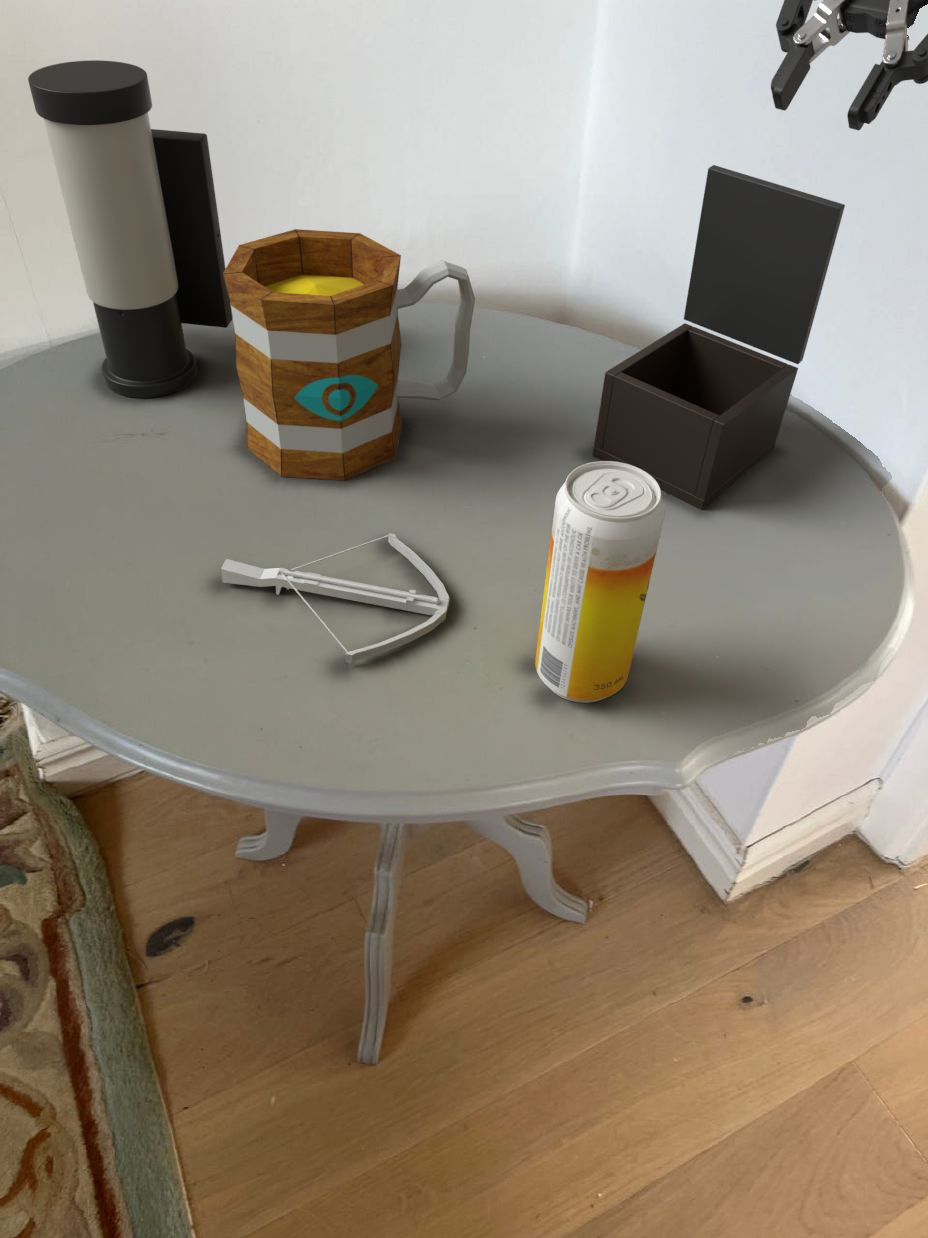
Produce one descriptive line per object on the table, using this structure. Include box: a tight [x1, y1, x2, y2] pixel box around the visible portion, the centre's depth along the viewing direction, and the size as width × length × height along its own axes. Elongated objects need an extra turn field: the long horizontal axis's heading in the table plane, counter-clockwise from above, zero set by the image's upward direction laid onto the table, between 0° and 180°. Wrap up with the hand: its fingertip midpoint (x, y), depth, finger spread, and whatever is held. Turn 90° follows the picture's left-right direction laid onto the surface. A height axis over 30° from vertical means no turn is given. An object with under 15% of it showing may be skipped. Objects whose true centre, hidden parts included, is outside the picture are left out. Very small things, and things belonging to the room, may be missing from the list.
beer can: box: [534, 460, 666, 704], centre depth 58 cm, size 6×6×15 cm
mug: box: [223, 228, 476, 481], centre depth 78 cm, size 20×14×15 cm
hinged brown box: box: [592, 323, 799, 510], centre depth 79 cm, size 12×11×8 cm
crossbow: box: [220, 532, 450, 664], centre depth 67 cm, size 16×13×2 cm
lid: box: [683, 164, 846, 365], centre depth 75 cm, size 13×11×1 cm
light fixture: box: [27, 59, 233, 399], centre depth 81 cm, size 12×11×25 cm
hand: (815, 111), depth 70 cm, fingers open, 5 cm apart
